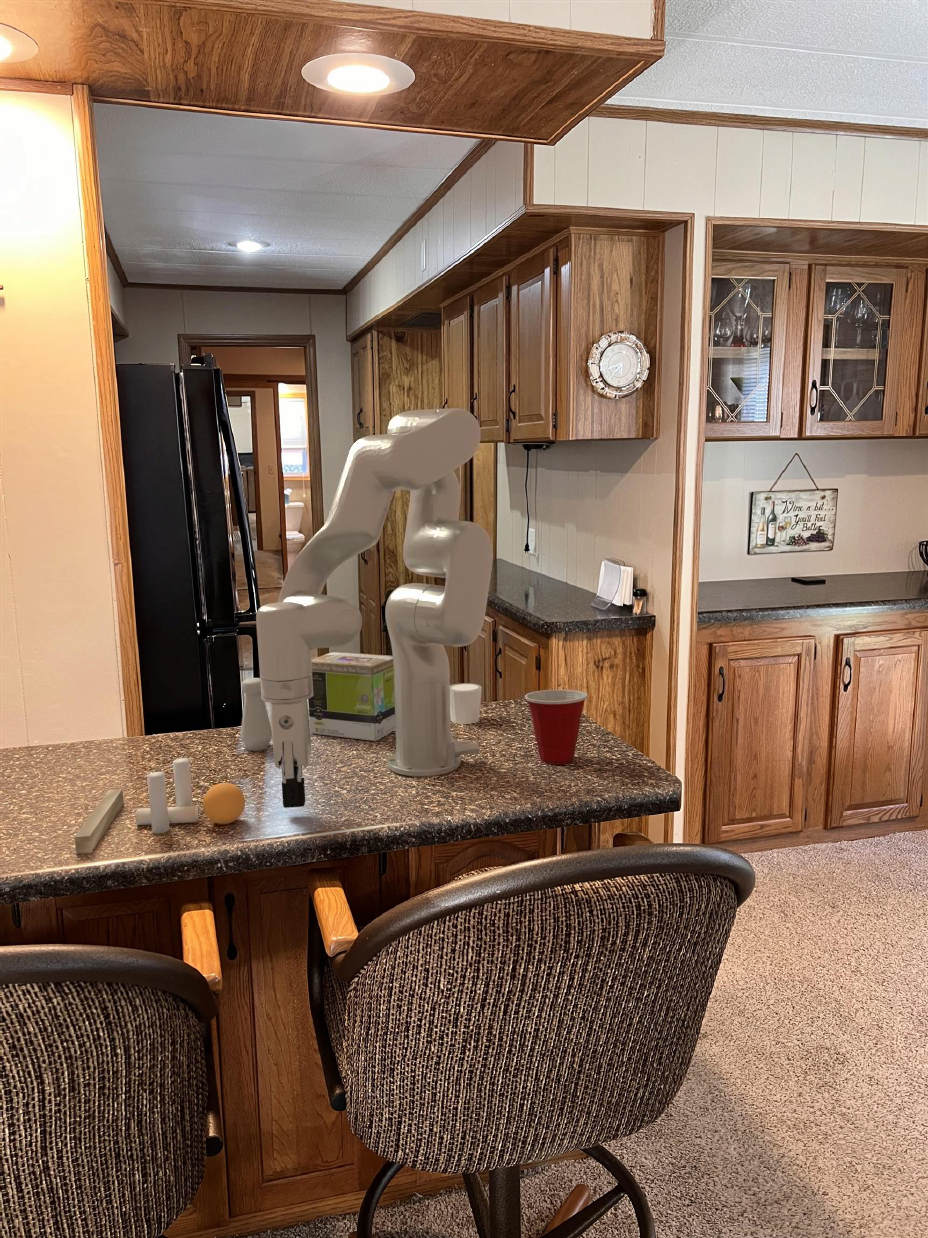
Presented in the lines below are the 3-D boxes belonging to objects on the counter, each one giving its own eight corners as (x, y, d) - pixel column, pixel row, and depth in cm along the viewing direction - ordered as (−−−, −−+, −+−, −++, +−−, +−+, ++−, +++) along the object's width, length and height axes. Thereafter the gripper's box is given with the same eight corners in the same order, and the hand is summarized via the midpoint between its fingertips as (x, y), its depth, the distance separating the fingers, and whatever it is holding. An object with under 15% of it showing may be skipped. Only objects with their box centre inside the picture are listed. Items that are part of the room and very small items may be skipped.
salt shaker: (265, 753, 168) (261, 683, 165) (236, 751, 169) (231, 682, 166) (278, 743, 173) (274, 676, 171) (249, 741, 174) (245, 675, 172)
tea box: (401, 728, 181) (398, 654, 178) (375, 743, 172) (372, 666, 169) (336, 720, 187) (332, 649, 185) (308, 734, 178) (304, 660, 176)
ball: (196, 797, 138) (230, 816, 140) (193, 820, 133) (228, 839, 135) (219, 768, 137) (253, 787, 139) (217, 789, 132) (252, 809, 134)
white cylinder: (447, 716, 188) (446, 683, 187) (480, 715, 189) (479, 681, 187) (449, 726, 181) (448, 692, 180) (484, 725, 182) (483, 690, 181)
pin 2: (194, 811, 141) (190, 758, 140) (192, 817, 139) (187, 763, 137) (178, 812, 141) (174, 759, 139) (175, 818, 139) (171, 764, 137)
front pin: (197, 804, 138) (139, 807, 138) (194, 807, 136) (135, 810, 135) (198, 820, 138) (140, 823, 138) (194, 824, 136) (135, 826, 135)
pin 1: (170, 826, 136) (166, 771, 134) (167, 833, 133) (162, 777, 132) (154, 827, 135) (149, 772, 134) (150, 834, 133) (145, 778, 131)
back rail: (123, 804, 145) (122, 789, 144) (91, 853, 127) (89, 836, 127) (110, 804, 144) (109, 789, 144) (76, 854, 127) (74, 837, 126)
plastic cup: (571, 746, 168) (571, 682, 166) (598, 765, 158) (598, 697, 155) (515, 753, 164) (515, 688, 162) (539, 773, 154) (539, 704, 152)
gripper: (310, 699, 128) (317, 823, 132) (315, 673, 143) (321, 785, 146) (255, 702, 127) (264, 827, 131) (265, 676, 142) (273, 788, 145)
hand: (294, 805), depth 139 cm, fingers closed
